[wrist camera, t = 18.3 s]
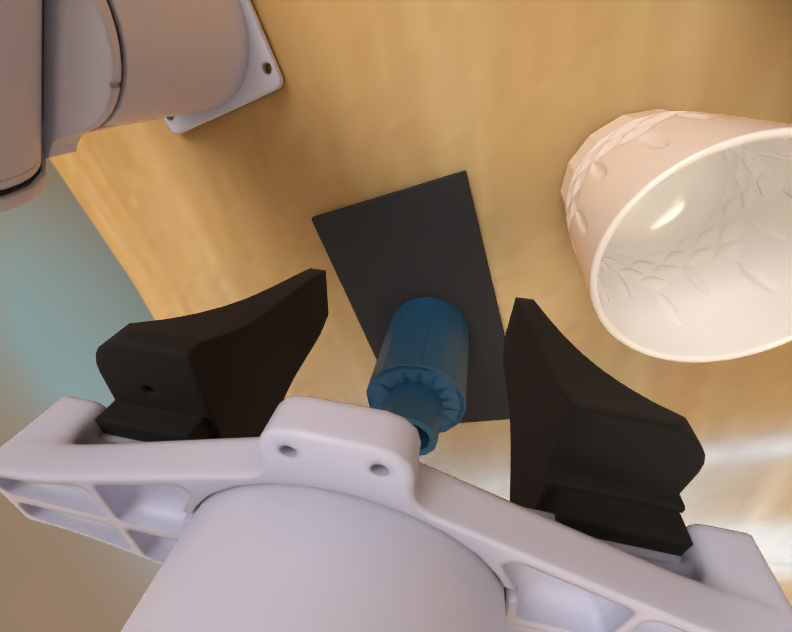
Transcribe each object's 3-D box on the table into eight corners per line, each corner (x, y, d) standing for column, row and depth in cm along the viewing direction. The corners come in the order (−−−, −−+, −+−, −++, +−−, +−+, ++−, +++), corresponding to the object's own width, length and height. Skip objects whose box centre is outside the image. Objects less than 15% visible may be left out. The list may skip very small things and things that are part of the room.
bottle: (375, 329, 28) (335, 432, 20) (425, 281, 25) (399, 381, 17) (432, 371, 29) (414, 483, 22) (486, 331, 26) (487, 444, 19)
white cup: (547, 256, 23) (582, 365, 15) (551, 112, 19) (602, 154, 11) (698, 242, 21) (835, 360, 13) (741, 77, 17) (984, 98, 9)
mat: (313, 216, 24) (311, 219, 24) (465, 170, 21) (465, 172, 21) (408, 423, 34) (408, 427, 34) (523, 414, 31) (523, 418, 30)
